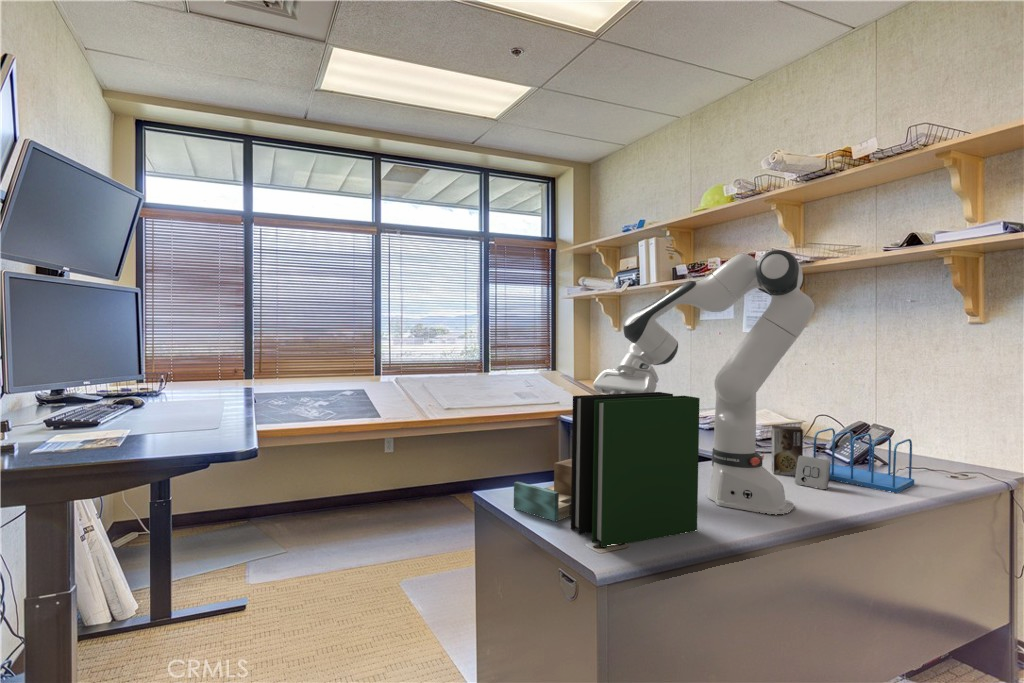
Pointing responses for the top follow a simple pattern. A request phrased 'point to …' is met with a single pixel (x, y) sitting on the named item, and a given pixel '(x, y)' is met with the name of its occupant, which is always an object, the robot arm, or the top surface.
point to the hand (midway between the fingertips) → (613, 403)
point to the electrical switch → (812, 472)
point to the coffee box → (786, 449)
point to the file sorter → (865, 476)
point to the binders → (634, 466)
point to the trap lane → (541, 501)
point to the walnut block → (563, 477)
